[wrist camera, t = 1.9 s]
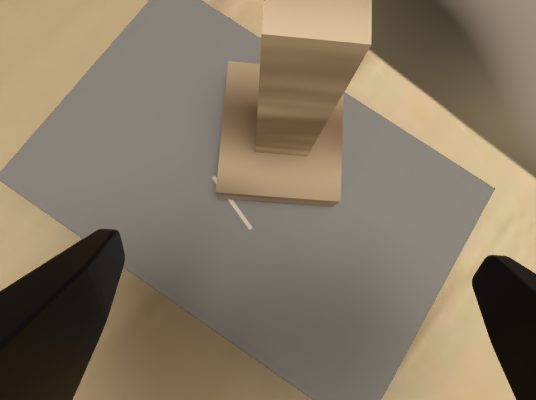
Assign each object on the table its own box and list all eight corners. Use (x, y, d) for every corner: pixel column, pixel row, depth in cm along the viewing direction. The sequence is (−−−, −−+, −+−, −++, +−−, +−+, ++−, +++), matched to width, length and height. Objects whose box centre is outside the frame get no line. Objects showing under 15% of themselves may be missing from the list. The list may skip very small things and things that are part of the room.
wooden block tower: (331, 207, 20) (445, 137, 9) (219, 198, 20) (175, 114, 8) (335, 88, 22) (437, -112, 10) (230, 79, 22) (207, -139, 10)
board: (479, 193, 23) (495, 188, 21) (354, 421, 20) (362, 434, 18) (172, -5, 24) (168, -22, 22) (13, 183, 21) (-5, 177, 20)
